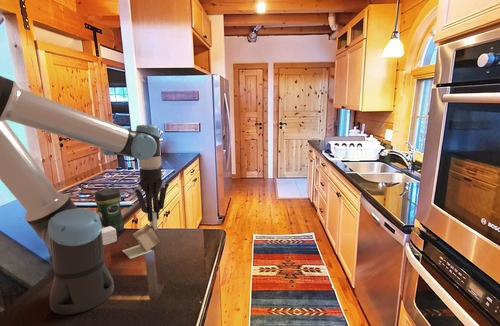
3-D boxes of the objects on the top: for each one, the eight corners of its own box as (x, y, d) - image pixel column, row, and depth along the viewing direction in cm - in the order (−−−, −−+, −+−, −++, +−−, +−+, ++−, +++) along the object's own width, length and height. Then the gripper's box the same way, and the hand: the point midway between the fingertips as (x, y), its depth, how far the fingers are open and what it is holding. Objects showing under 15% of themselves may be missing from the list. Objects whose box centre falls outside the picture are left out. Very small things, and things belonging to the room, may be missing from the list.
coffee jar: (117, 225, 125) (114, 185, 122) (126, 230, 120) (123, 188, 117) (95, 232, 117) (90, 190, 114) (104, 237, 112) (99, 193, 109)
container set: (111, 238, 112) (110, 225, 112) (117, 242, 109) (116, 229, 108) (53, 256, 98) (51, 242, 97) (57, 262, 94) (55, 247, 93)
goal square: (152, 251, 101) (152, 250, 101) (130, 258, 96) (130, 258, 96) (143, 243, 107) (143, 243, 107) (122, 250, 102) (122, 250, 102)
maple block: (153, 228, 102) (139, 239, 98) (160, 240, 104) (147, 251, 101) (146, 223, 106) (132, 234, 103) (153, 235, 109) (140, 245, 105)
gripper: (162, 164, 108) (165, 221, 112) (128, 168, 99) (132, 230, 103) (171, 166, 103) (174, 226, 107) (136, 171, 94) (141, 236, 98)
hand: (154, 228), depth 105 cm, fingers closed
